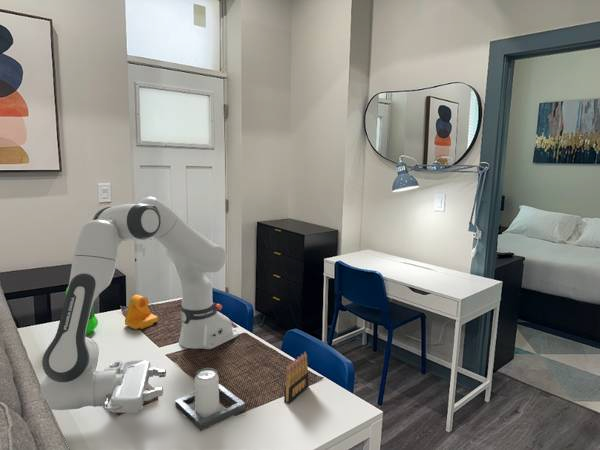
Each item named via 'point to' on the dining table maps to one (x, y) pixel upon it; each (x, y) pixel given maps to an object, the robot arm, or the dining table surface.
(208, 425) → the dark grey square frame
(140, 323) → the orange figurine
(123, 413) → the wooden square frame
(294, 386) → the ammunition clip
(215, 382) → the can
